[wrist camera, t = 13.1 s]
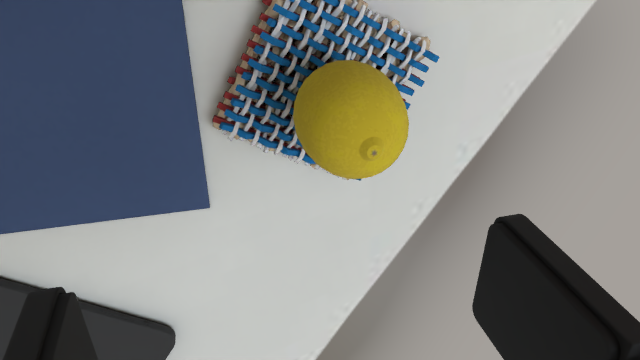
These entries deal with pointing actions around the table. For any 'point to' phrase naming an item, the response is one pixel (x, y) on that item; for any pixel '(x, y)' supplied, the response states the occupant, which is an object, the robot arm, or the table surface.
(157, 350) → the phone
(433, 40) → the table surface
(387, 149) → the lemon
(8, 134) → the cloth
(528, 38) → the table surface
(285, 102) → the woven mat
